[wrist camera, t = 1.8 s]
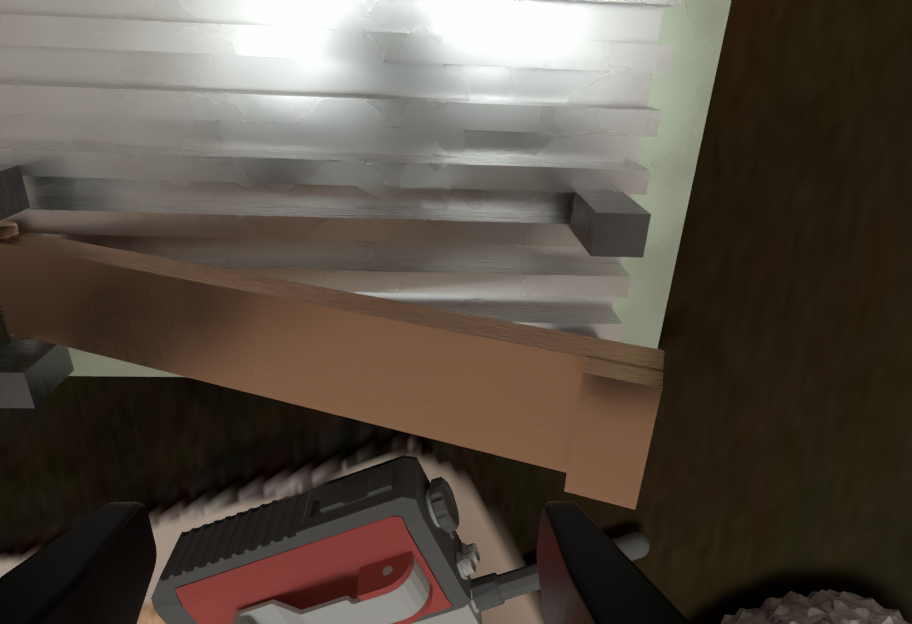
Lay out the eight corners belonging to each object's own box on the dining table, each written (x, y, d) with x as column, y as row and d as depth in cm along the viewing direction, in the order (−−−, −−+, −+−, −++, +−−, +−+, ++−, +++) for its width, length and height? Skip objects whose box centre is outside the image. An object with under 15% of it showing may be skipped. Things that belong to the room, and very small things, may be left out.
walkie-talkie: (248, 659, 29) (643, 534, 27) (220, 759, 25) (682, 622, 23) (144, 537, 25) (591, 381, 23) (91, 631, 21) (626, 454, 19)
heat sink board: (40, 366, 21) (-112, 498, 15) (-244, -596, 12) (-935, -1249, 6) (644, 372, 22) (725, 496, 16) (821, -481, 13) (1153, -908, 7)
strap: (30, 323, 15) (-20, 345, 14) (0, 219, 14) (-58, 234, 13) (637, 470, 11) (633, 518, 10) (666, 339, 10) (665, 377, 9)
